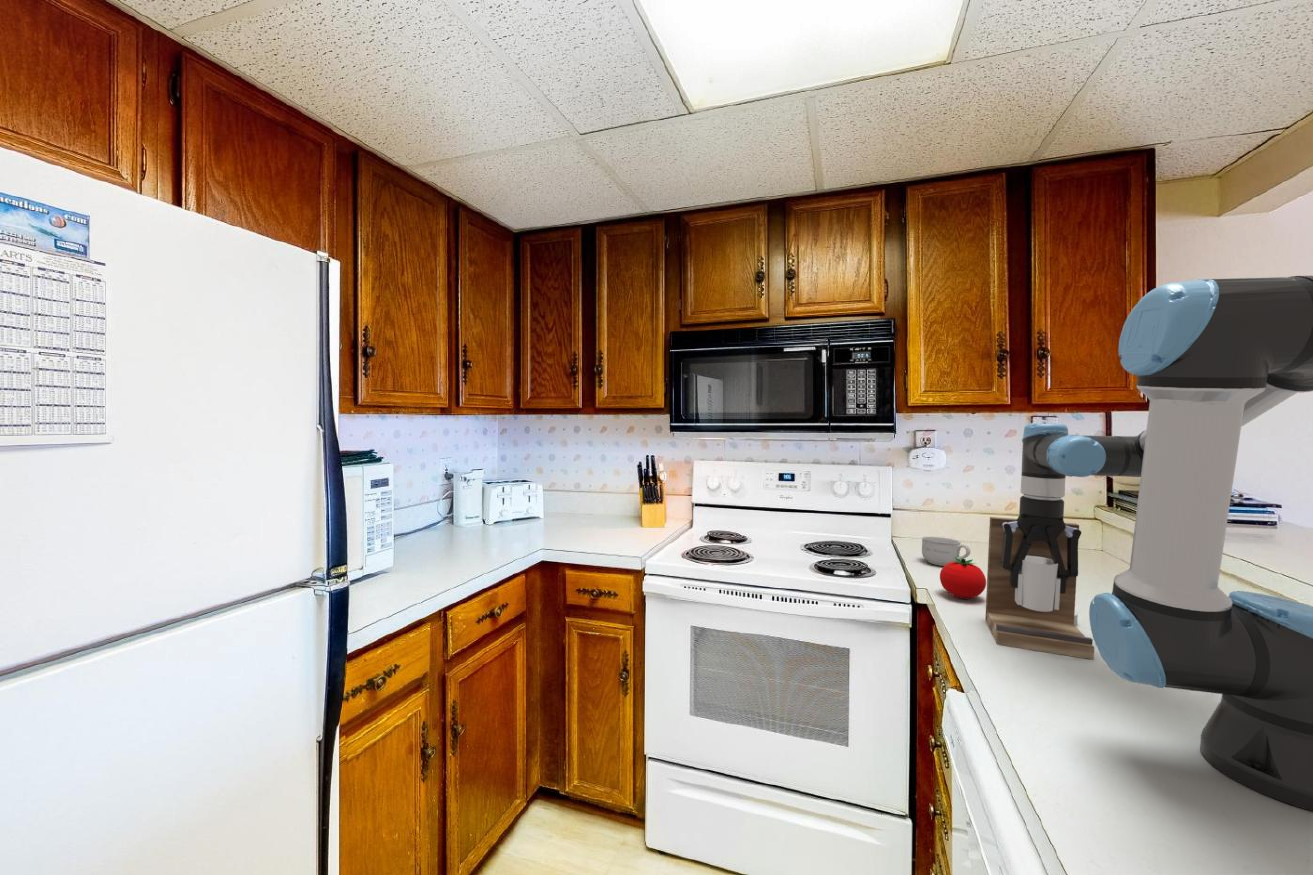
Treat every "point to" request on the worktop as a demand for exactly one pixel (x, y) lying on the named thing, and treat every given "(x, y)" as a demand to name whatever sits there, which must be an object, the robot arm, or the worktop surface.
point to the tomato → (962, 579)
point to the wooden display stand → (1022, 623)
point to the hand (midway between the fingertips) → (1036, 604)
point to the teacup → (942, 550)
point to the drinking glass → (1038, 583)
